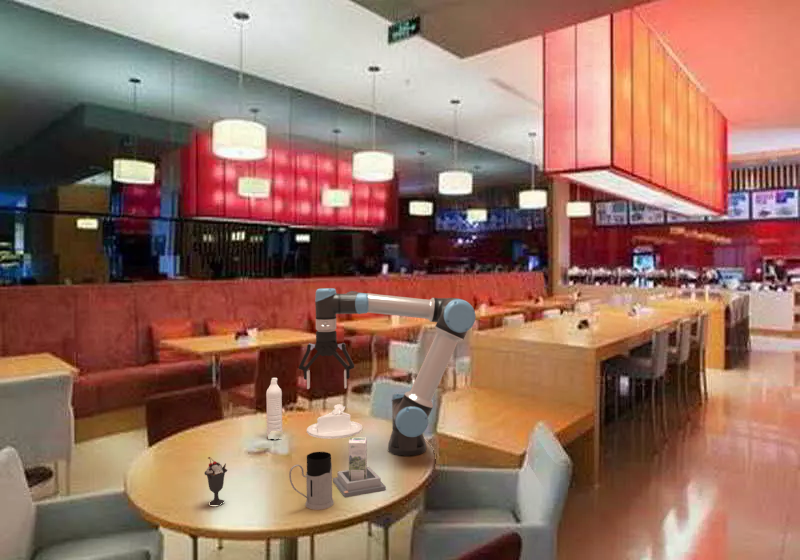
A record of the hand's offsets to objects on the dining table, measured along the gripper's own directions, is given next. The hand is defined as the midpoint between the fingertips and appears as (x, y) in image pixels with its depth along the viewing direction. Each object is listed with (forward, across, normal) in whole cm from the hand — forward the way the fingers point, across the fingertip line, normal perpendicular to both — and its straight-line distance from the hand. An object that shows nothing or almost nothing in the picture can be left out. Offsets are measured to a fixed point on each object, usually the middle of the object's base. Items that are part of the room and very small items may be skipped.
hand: (327, 388), depth 206 cm
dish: (+29, -1, +44) cm, 53 cm away
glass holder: (+29, -2, -35) cm, 45 cm away
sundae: (+29, -32, -31) cm, 53 cm away
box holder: (+29, +12, -20) cm, 37 cm away
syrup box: (+28, +12, -20) cm, 36 cm away
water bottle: (+29, -26, +35) cm, 52 cm away
